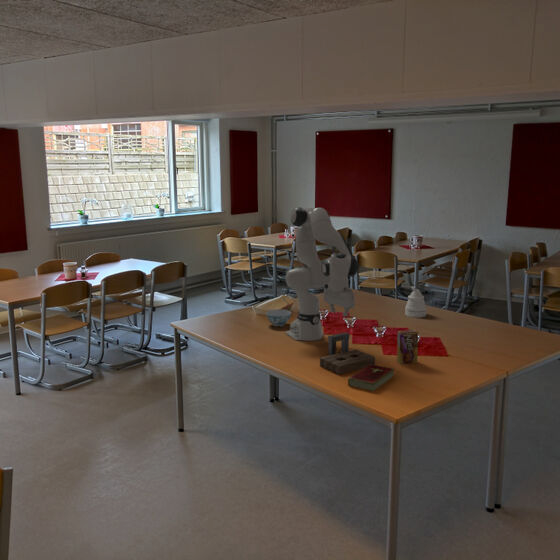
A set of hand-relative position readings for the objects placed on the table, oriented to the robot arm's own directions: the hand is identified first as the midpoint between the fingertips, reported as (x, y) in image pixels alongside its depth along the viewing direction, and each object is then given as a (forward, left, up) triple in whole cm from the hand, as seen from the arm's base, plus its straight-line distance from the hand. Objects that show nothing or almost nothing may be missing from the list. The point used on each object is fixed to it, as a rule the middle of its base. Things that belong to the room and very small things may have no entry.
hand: (339, 314), depth 275 cm
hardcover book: (+35, -10, -22) cm, 42 cm away
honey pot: (-33, +89, -22) cm, 97 cm away
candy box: (+27, +20, -21) cm, 40 cm away
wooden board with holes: (+14, -6, -21) cm, 26 cm away
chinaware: (-64, +6, -21) cm, 68 cm away
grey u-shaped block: (0, 0, -21) cm, 21 cm away
